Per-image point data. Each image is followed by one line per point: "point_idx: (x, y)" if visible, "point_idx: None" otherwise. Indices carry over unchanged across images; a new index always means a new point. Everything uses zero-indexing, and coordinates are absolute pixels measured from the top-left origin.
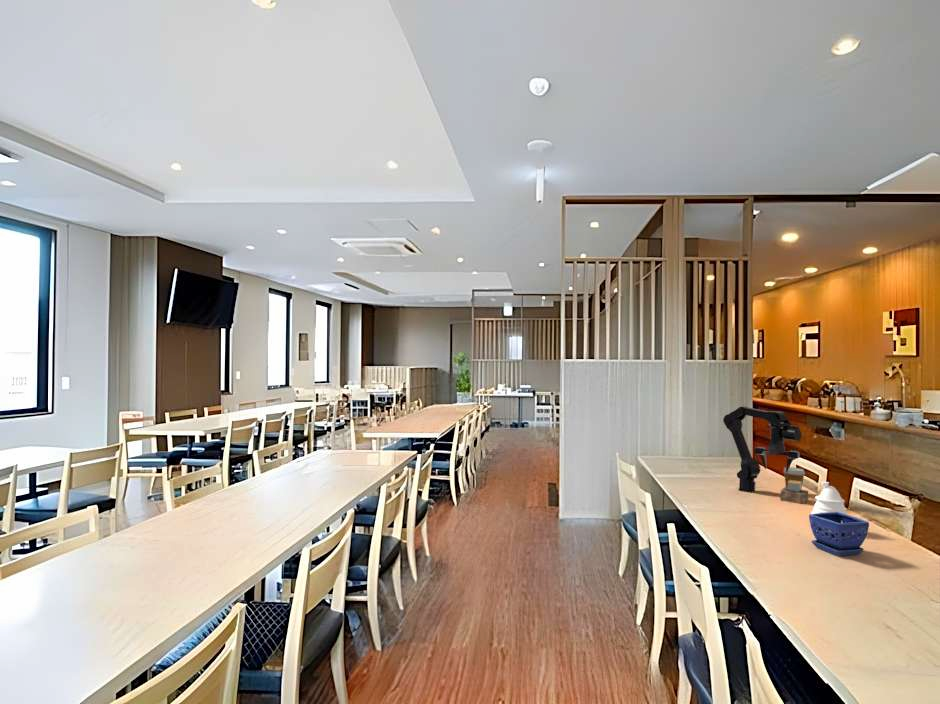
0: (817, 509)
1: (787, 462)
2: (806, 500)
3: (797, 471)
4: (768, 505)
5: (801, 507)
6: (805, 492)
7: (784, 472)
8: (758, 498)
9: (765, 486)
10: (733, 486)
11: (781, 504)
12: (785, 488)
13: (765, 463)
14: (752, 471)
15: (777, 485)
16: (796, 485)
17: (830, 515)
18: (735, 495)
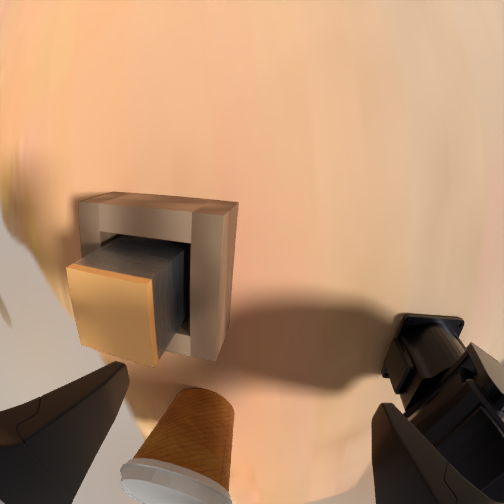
0: None
1: (26, 432)
2: None
3: (138, 476)
4: (290, 10)
5: (120, 97)
6: None
7: (222, 488)
8: (372, 169)
9: (321, 456)
10: None
11: (221, 84)
12: (205, 326)
13: (403, 463)
14: (464, 392)
15: (276, 478)
16: (98, 262)
17: None
18: (485, 175)
